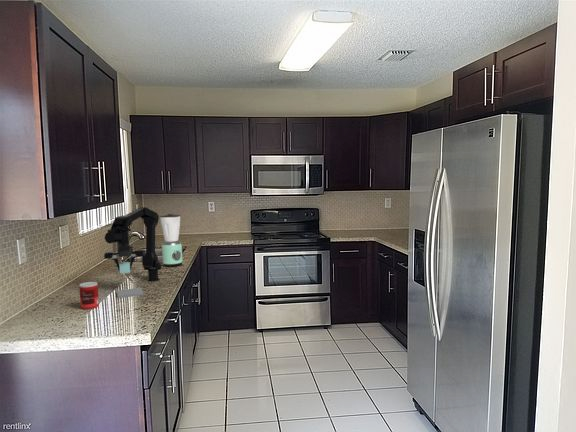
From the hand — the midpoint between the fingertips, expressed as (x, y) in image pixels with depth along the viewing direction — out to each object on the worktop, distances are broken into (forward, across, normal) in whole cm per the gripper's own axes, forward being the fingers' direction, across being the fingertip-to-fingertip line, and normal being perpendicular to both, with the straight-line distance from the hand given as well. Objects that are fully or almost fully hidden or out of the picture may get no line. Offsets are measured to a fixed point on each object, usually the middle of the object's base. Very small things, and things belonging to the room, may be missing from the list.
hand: (124, 270), depth 214 cm
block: (+1, 0, 0) cm, 1 cm away
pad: (+11, +2, -6) cm, 13 cm away
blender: (+11, +30, +57) cm, 65 cm away
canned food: (+12, -16, -21) cm, 29 cm away
